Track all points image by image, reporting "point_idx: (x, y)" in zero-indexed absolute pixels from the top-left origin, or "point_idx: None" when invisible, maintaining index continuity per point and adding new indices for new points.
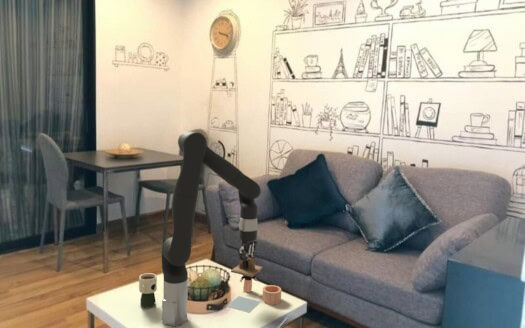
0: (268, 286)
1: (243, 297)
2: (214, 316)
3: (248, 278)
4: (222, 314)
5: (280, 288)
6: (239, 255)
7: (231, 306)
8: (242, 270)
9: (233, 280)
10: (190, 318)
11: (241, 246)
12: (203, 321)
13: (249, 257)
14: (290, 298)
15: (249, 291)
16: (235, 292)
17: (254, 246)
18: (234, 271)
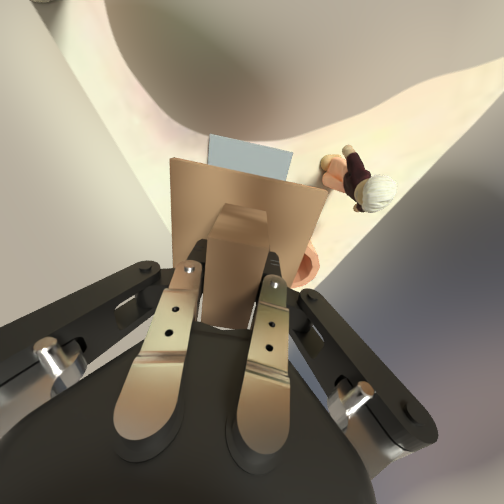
0: (308, 255)
1: (286, 172)
2: (142, 113)
3: (346, 186)
4: (167, 137)
5: (300, 285)
6: (80, 294)
7: (215, 152)
8: (202, 229)
9: (445, 75)
10: (75, 11)
11: (131, 365)
12: (94, 85)
13: (231, 303)
14: (312, 281)
15: (323, 183)
16: (327, 127)
17: (325, 386)
18: (171, 186)
